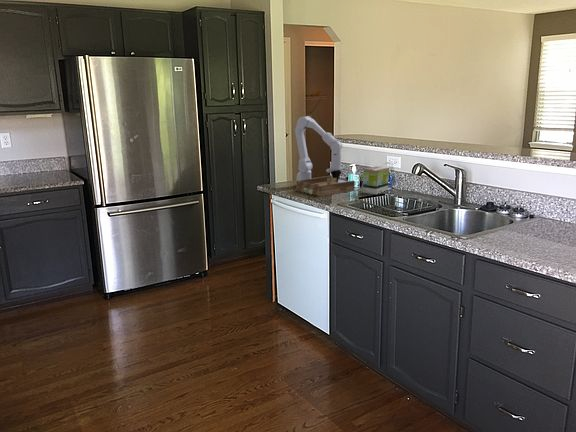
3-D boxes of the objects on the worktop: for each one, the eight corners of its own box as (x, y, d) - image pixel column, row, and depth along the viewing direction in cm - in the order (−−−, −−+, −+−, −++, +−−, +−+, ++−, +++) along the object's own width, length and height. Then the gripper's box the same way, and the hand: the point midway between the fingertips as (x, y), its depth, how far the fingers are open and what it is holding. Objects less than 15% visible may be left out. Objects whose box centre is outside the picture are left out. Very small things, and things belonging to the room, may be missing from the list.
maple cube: (327, 184, 318) (327, 178, 317) (332, 183, 320) (332, 177, 319) (331, 185, 315) (331, 179, 314) (336, 184, 317) (336, 178, 316)
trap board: (296, 190, 315) (296, 181, 314) (330, 185, 332) (330, 175, 331) (320, 196, 299) (320, 186, 297) (354, 190, 315) (354, 180, 314)
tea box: (377, 195, 302) (378, 170, 299) (362, 192, 308) (362, 168, 305) (388, 190, 314) (389, 166, 310) (374, 188, 320) (374, 165, 316)
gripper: (332, 162, 309) (331, 184, 312) (349, 160, 317) (348, 182, 321) (324, 161, 314) (323, 183, 317) (341, 159, 323) (340, 180, 326)
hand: (335, 182), depth 320 cm, fingers closed
